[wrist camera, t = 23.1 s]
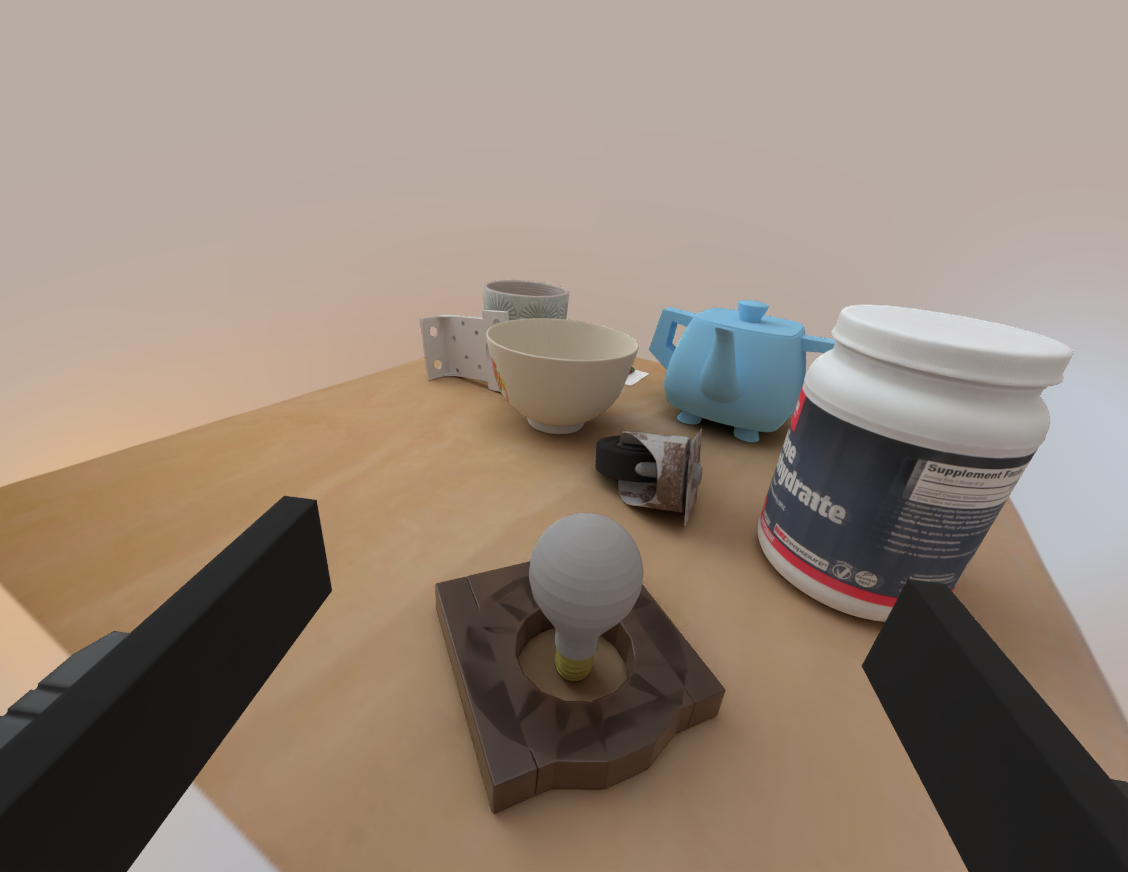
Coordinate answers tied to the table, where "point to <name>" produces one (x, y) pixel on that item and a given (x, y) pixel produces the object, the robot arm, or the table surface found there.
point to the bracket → (461, 346)
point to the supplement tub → (904, 452)
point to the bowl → (559, 369)
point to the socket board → (553, 726)
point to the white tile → (635, 376)
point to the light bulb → (584, 584)
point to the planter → (526, 299)
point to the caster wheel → (653, 469)
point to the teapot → (734, 366)
